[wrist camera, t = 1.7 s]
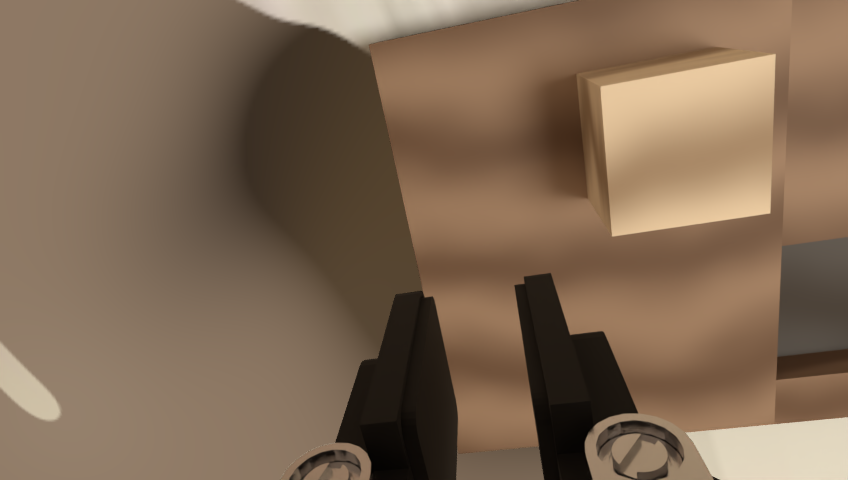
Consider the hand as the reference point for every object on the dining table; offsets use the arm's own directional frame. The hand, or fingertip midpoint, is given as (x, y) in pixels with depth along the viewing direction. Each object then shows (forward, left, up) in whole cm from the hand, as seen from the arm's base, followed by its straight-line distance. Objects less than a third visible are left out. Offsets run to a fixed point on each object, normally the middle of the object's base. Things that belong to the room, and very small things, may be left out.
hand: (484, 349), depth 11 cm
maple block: (0, +8, -17) cm, 18 cm away
